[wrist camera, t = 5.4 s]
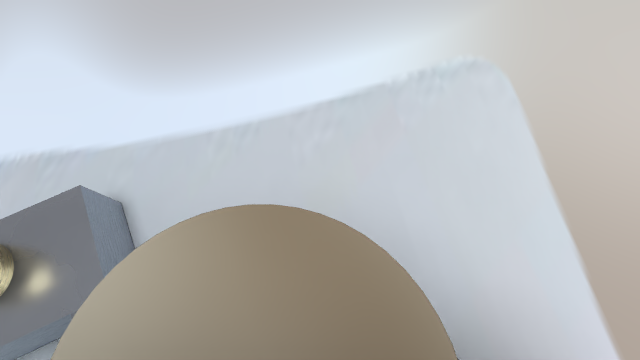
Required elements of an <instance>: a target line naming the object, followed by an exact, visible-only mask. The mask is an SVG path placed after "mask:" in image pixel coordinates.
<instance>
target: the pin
mask: <svg viewBox="0 0 640 360" xmlns="http://www.w3.org/2000/svg"><path fill="white" fill-rule="evenodd" d="M51 360H457V357H456V354H455V351H454V348H453V345H452V343H451V341H450V339H449V337H448V335H447V332H446V330H445V328H444V326H443V324H442V322H441V320H440V318H439V316H438V314H437V313H436V311H435V310H434V308H433V307H432V305H431V303H430V302H429V300H428V299H427V297H426V296H425V294H424V292H423V291H422V290H421V288H420V287H419V286H418V285H417V284H416V282H415V281H414V280H413V279H412V277H411V276H410V275H409V274H408V273H407V271H406V270H405V269H404V268H403V267H402V266H401V265H400V264H399V263H398V262H397V261H396V260H395V259H394V258H393V257H392V256H390V255H389V254H388V253H387V252H386V251H385V250H384V249H382V248H381V247H380V246H378V245H377V244H376V243H374V242H373V241H372V240H370V239H369V238H368V237H366V236H365V235H363V234H362V233H360V232H358V231H356V230H355V229H353V228H351V227H349V226H347V225H346V224H344V223H342V222H339V221H337V220H335V219H332V218H330V217H327V216H325V215H322V214H319V213H316V212H312V211H308V210H304V209H300V208H296V207H289V206H281V205H242V206H234V207H227V208H222V209H218V210H214V211H211V212H207V213H203V214H200V215H197V216H195V217H192V218H190V219H187V220H185V221H182V222H179V223H177V224H176V225H174V226H172V227H170V228H168V229H166V230H164V231H162V232H160V233H159V234H157V235H155V236H154V237H152V238H151V239H149V240H148V241H146V242H145V243H144V244H142V245H141V246H139V247H138V248H136V249H135V250H134V251H132V252H131V253H130V254H129V255H128V256H127V257H126V258H124V259H123V260H122V261H121V262H120V263H119V264H117V265H116V266H115V267H114V268H113V269H112V270H111V271H110V272H109V273H108V274H107V275H106V277H105V278H104V279H103V280H102V281H101V282H100V283H99V284H98V285H97V286H96V287H95V288H94V290H93V291H92V292H91V294H90V295H89V296H88V298H87V299H86V300H85V302H84V303H83V304H82V306H81V307H80V308H79V309H78V311H77V312H76V314H75V316H74V317H73V319H72V321H71V322H70V324H69V325H68V327H67V329H66V330H65V332H64V334H63V335H62V337H61V339H60V341H59V343H58V345H57V347H56V349H55V351H54V354H53V356H52V358H51Z"/></svg>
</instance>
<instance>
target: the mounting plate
mask: <svg viewBox="0 0 640 360" xmlns="http://www.w3.org/2000/svg"><path fill="white" fill-rule="evenodd" d="M134 250H135V249H134V245H133V242H132V239H131V235H130V232H129V228H128V225H127V222H126V218H125V215H124V211H123V208H122V205H121V203H120V202H118V201H116V200H113V199H111V198H109V197H106V196H104V195H102V194H99V193H97V192H95V191H92V190H90V189H88V188H85V187H83V186H81V185H79V186H77V187H75V188H72V189H70V190H68V191H65V192H63V193H61V194H59V195H56V196H54V197H52V198H49V199H47V200H45V201H42V202H40V203H38V204H35V205H33V206H31V207H28V208H26V209H24V210H21V211H19V212H17V213H15V214H12V215H10V216H8V217H5V218H3V219H1V220H0V360H14V359H16V358H18V357H21V356H23V355H25V354H27V353H29V352H31V351H33V350H35V349H37V348H39V347H42V346H44V345H46V344H48V343H50V342H52V341H54V340H56V339H58V338H60V337H62V335H63V334H64V332H65V330H66V329H67V327H68V325H69V324H70V322H71V321H72V319H73V317H74V316H75V314H76V312H77V311H78V309H79V308H80V307H81V306H82V304H83V303H84V302H85V300H86V299H87V298H88V296H89V295H90V294H91V292H92V291H93V290H94V288H95V287H96V286H97V285H98V284H99V283H100V282H101V281H102V280H103V279H104V278H105V277H106V275H107V274H108V273H109V272H110V271H111V270H112V269H113V268H114V267H115V266H116V265H117V264H119V263H120V262H121V261H122V260H123V259H124V258H126V257H127V256H128V255H129V254H130V253H131V252H132V251H134Z"/></svg>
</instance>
